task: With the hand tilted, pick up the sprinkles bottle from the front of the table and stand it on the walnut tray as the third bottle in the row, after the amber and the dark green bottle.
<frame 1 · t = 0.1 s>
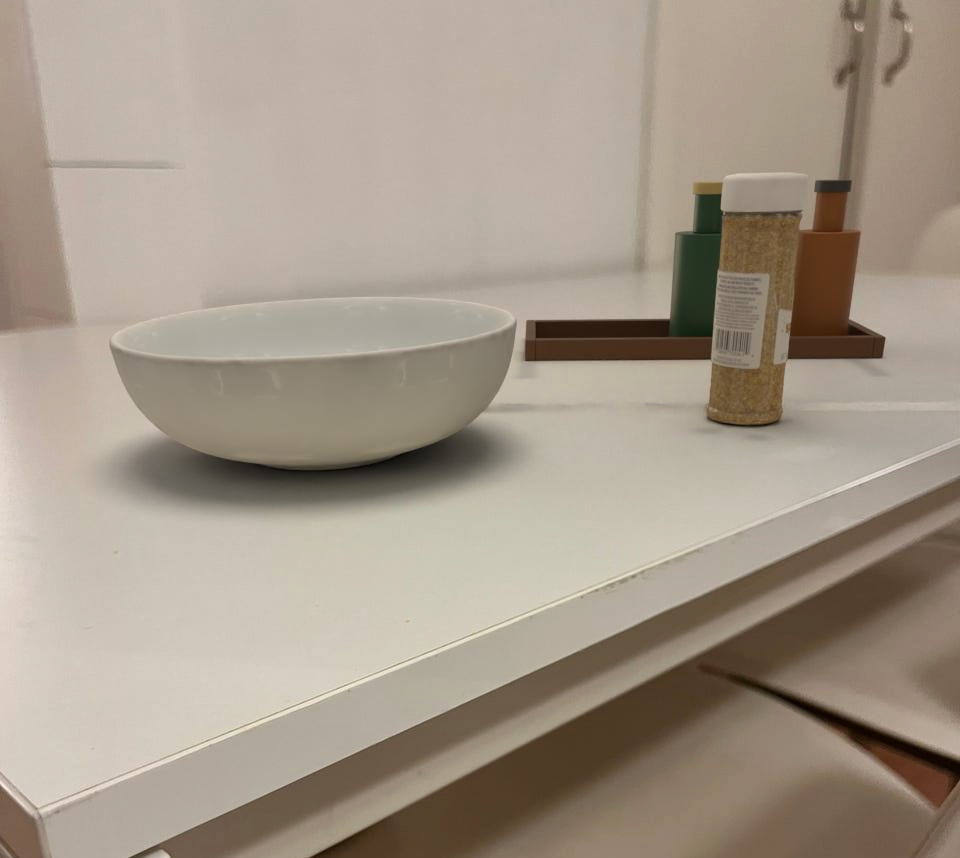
amber bottle: (813, 346, 80), point 1 cm above the table, touching tray
green bottle: (698, 347, 80), point 1 cm above the table, touching tray
tray: (691, 355, 81), on the table
serving bowl: (327, 452, 56), on the table
sprinkles bottle: (742, 421, 61), on the table
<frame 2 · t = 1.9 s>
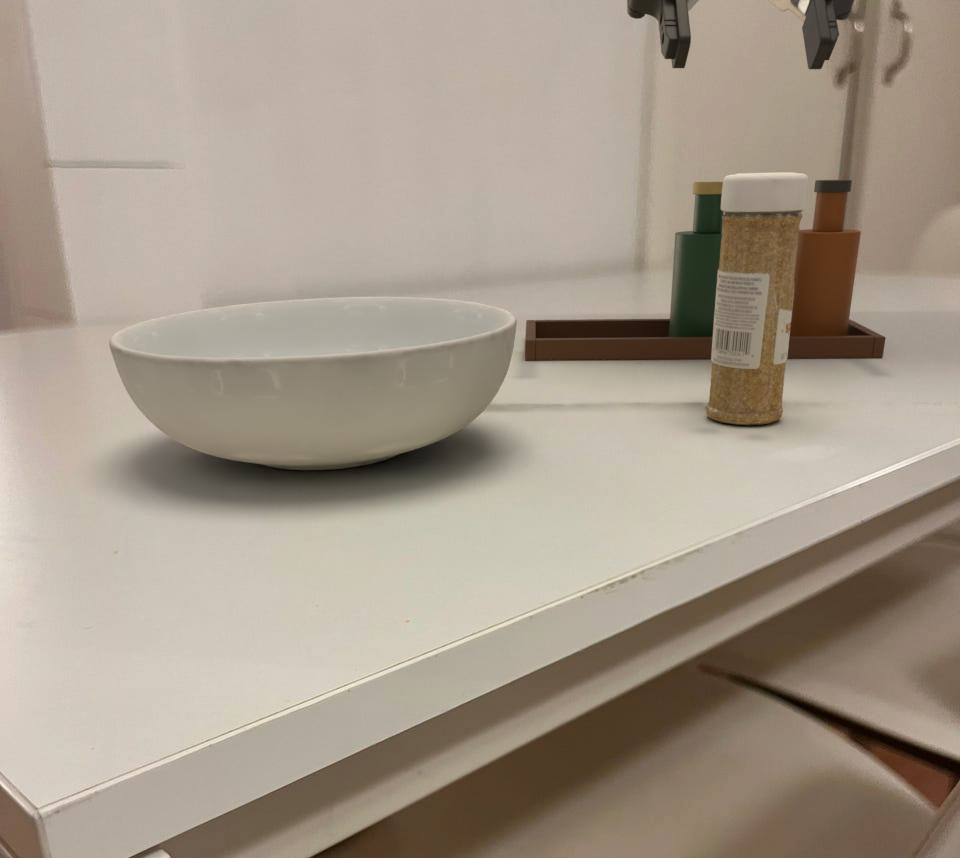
hand: (751, 57, 62), 20 cm above the table, tool tilted 45°, fingers open, 8 cm apart
nothing on the table moved.
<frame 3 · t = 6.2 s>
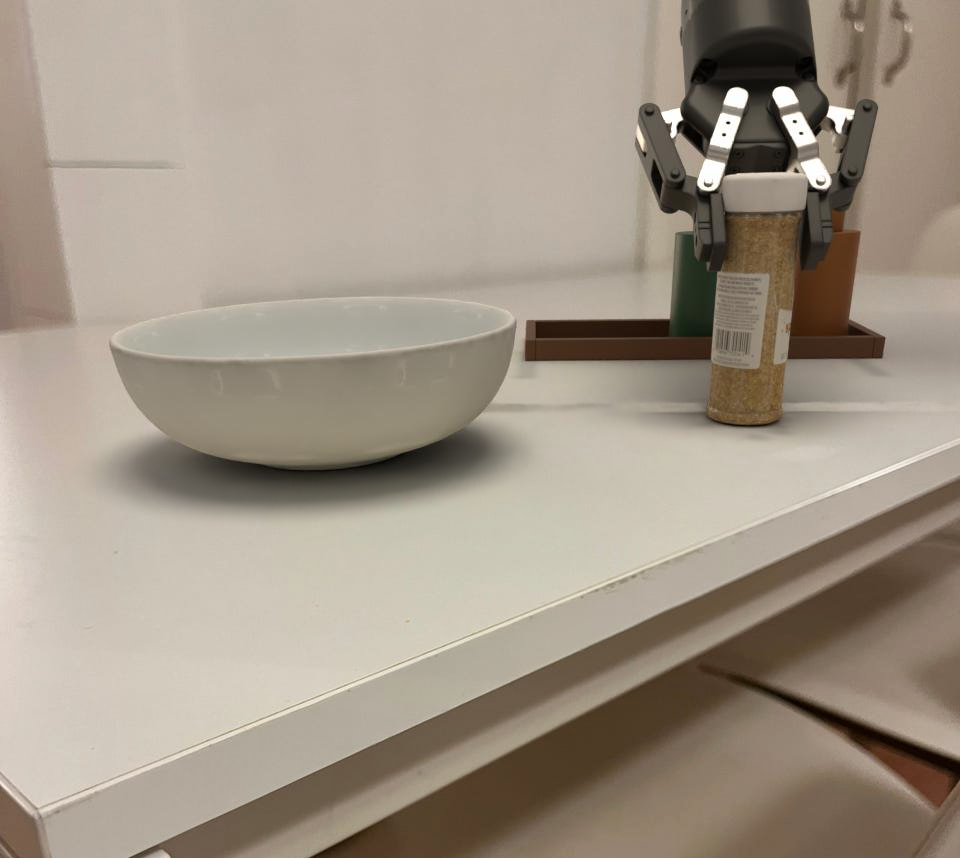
hand: (765, 260, 55), 9 cm above the table, tool tilted 45°, fingers closed on sprinkles bottle, 4 cm apart
sprinkles bottle: (742, 421, 61), on the table, touching gripper
everything else where it was.
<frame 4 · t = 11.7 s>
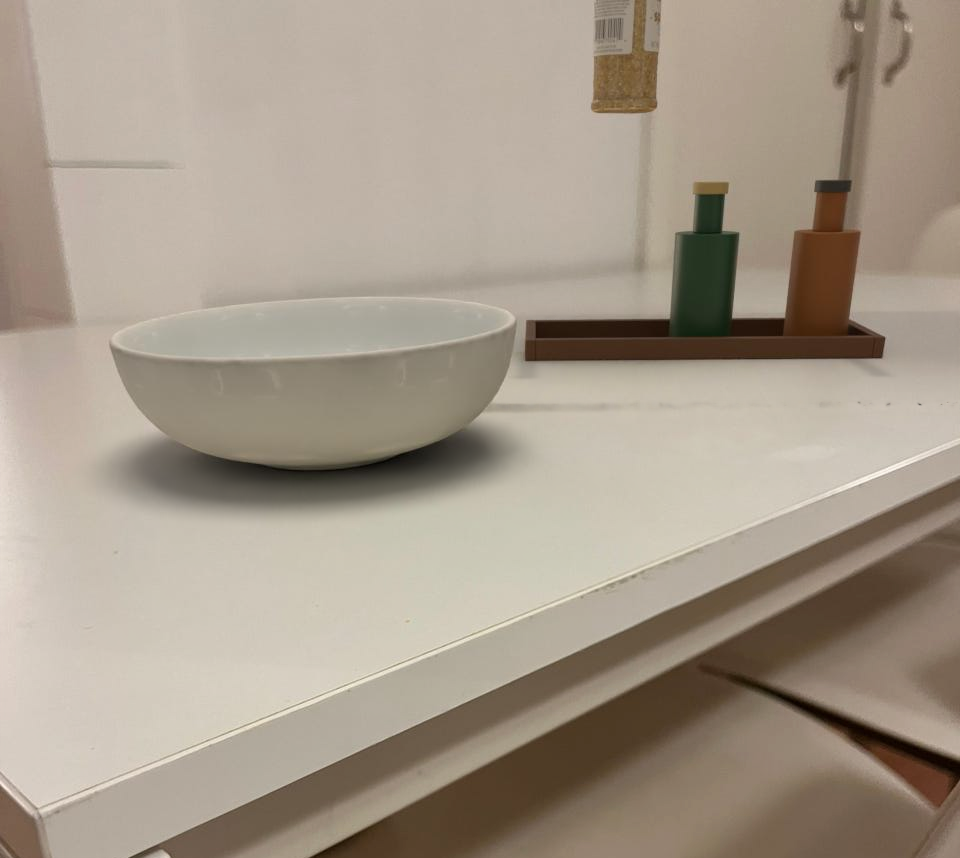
sprinkles bottle: (622, 116, 69), point 17 cm above the table, touching gripper
everything else where it was.
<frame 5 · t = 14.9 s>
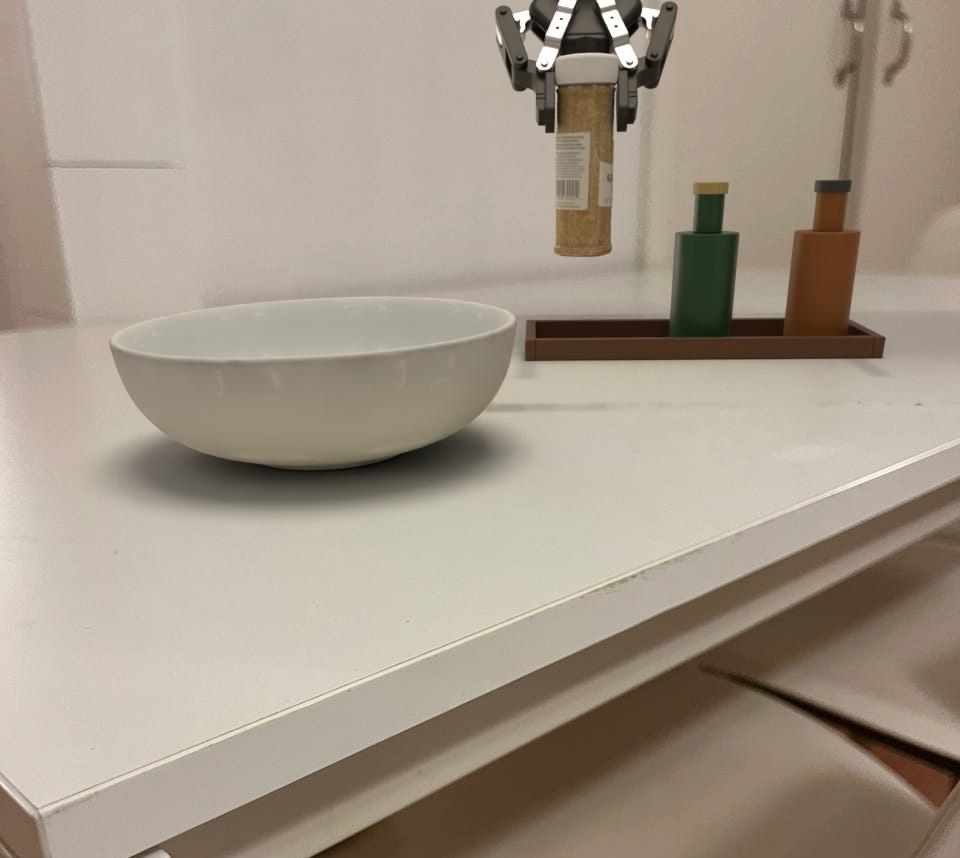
hand: (586, 122, 72), 17 cm above the table, tool tilted 45°, fingers closed on sprinkles bottle, 4 cm apart
sprinkles bottle: (582, 257, 78), point 7 cm above the table, touching gripper
everything else where it was.
when the fingers open (10 cm above the table, at t = 17.2 s): sprinkles bottle stays where it is, resting on tray.
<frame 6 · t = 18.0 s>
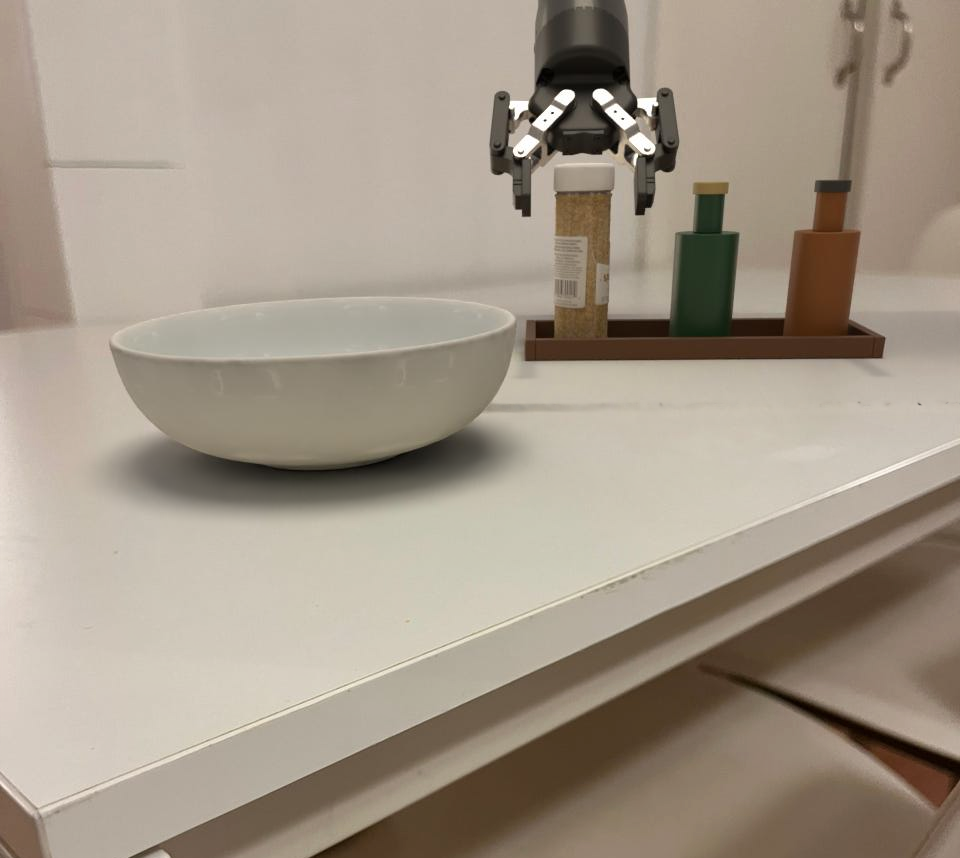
hand: (583, 208, 75), 11 cm above the table, tool tilted 45°, fingers open, 8 cm apart
sprinkles bottle: (579, 350, 81), resting on tray
everything else where it was.
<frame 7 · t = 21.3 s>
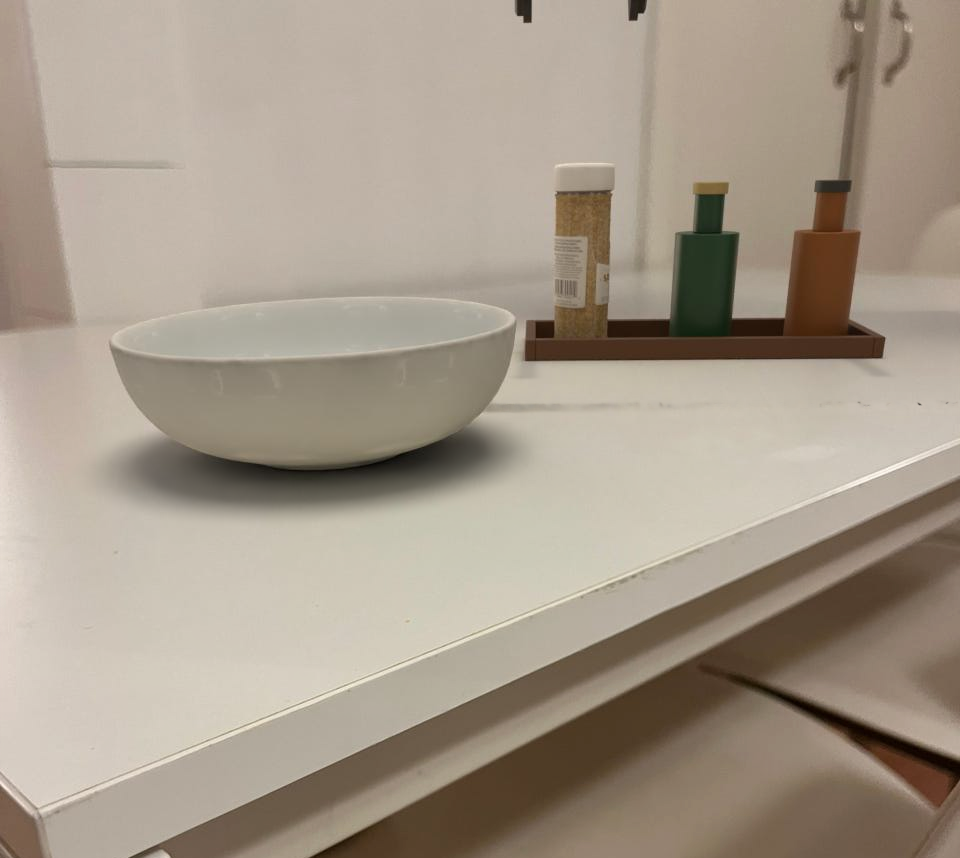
hand: (581, 12, 81), 25 cm above the table, tool tilted 45°, fingers open, 8 cm apart
nothing on the table moved.
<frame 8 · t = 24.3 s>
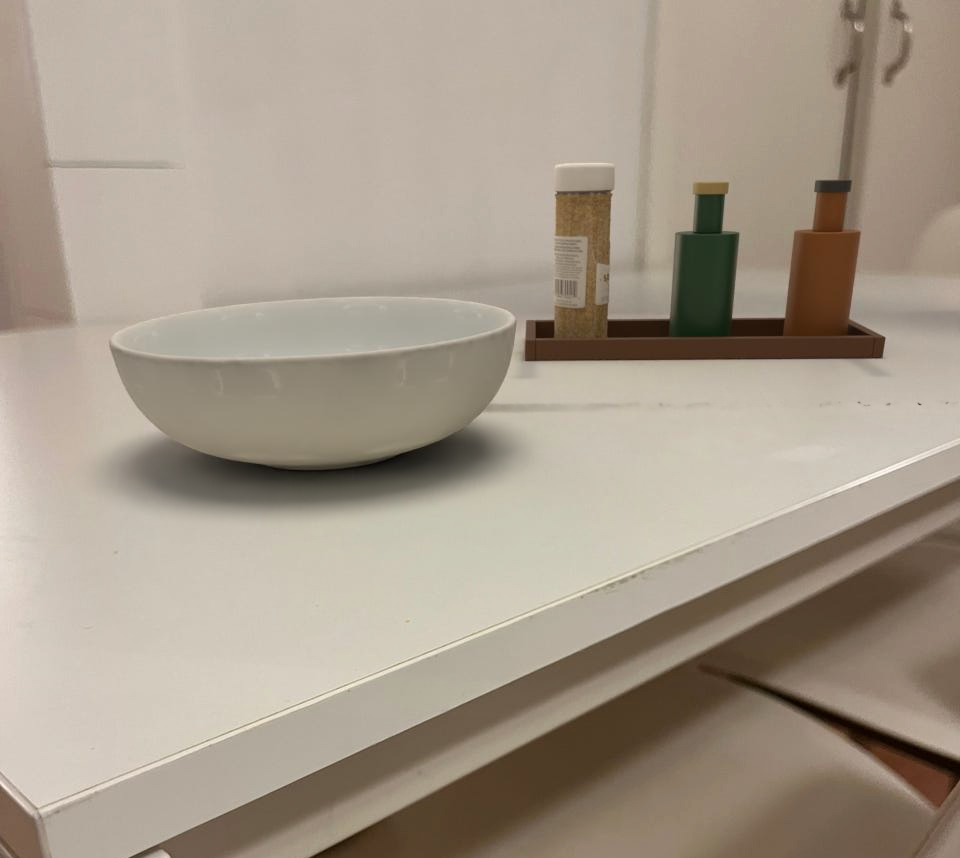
nothing on the table moved.
at the end: sprinkles bottle 0.3 cm from the target spot in the tray, point 0.4 cm above the tray's base; sprinkles bottle tilted 0°; the gripper is holding nothing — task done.
